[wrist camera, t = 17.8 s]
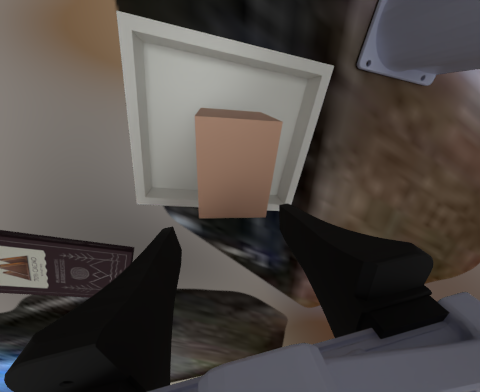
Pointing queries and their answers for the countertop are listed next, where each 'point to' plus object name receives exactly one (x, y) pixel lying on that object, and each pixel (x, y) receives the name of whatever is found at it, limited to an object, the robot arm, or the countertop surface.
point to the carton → (235, 162)
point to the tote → (209, 104)
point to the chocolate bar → (58, 264)
